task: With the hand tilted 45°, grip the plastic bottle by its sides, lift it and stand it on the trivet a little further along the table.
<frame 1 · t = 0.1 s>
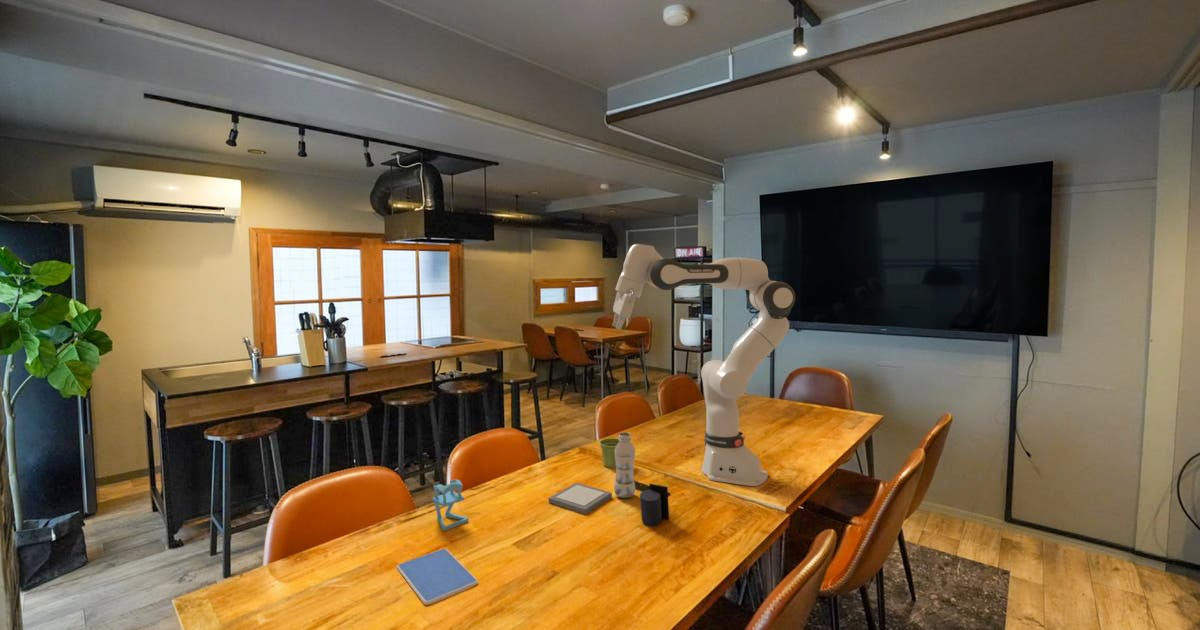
hand: (616, 327, 174), 52 cm above the table, tool tilted 20°, fingers open, 8 cm apart
trivet: (580, 499, 160), on the table
chair: (449, 522, 147), on the table
tablet computer: (436, 578, 120), on the table
plastic bottle: (624, 496, 162), on the table
speaker: (654, 523, 145), on the table
plant pot: (612, 465, 189), on the table
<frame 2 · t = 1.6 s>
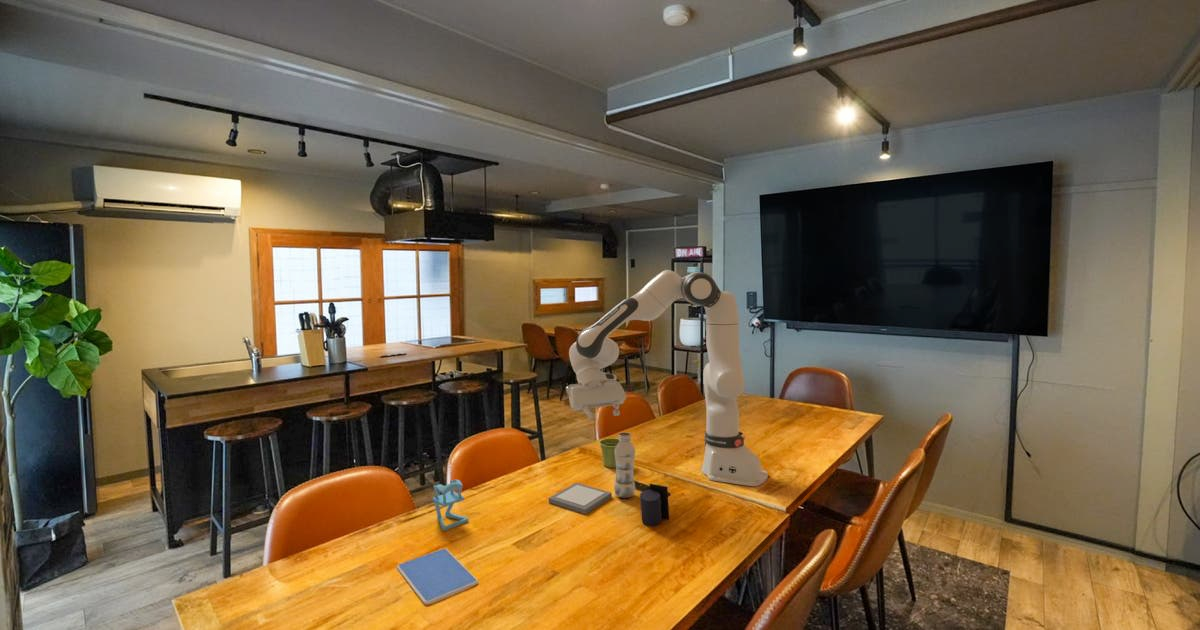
hand: (605, 416, 171), 23 cm above the table, tool tilted 45°, fingers open, 8 cm apart
nothing on the table moved.
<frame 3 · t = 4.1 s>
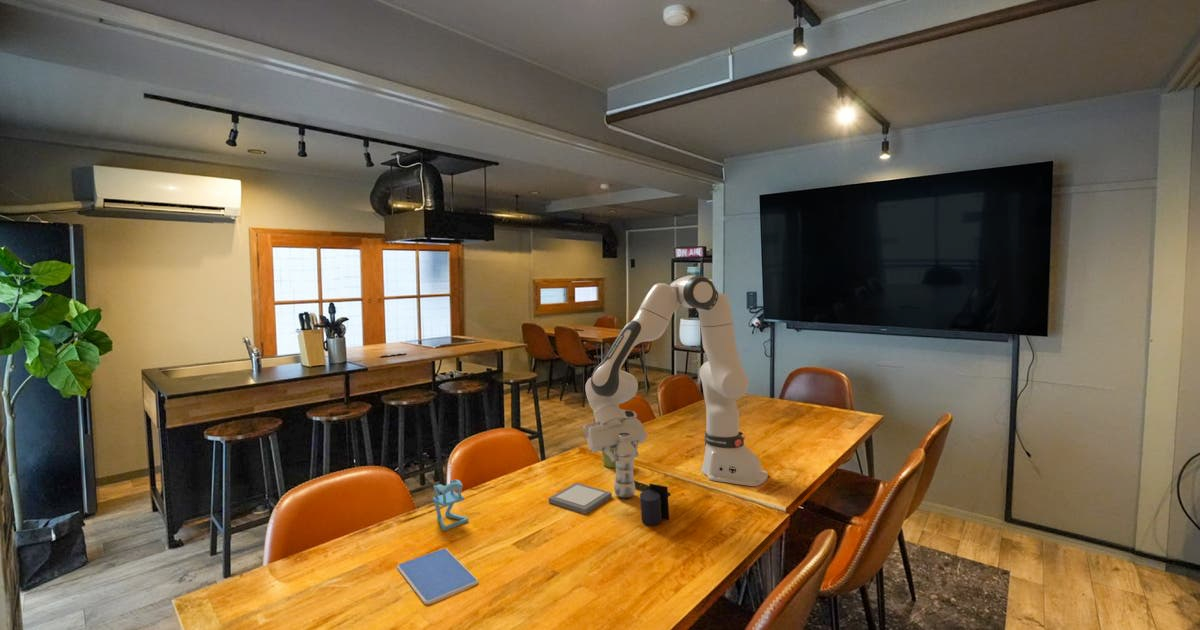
hand: (625, 458, 161), 12 cm above the table, tool tilted 45°, fingers closed on plastic bottle, 6 cm apart
plastic bottle: (624, 496, 162), on the table, touching gripper
everything else where it was.
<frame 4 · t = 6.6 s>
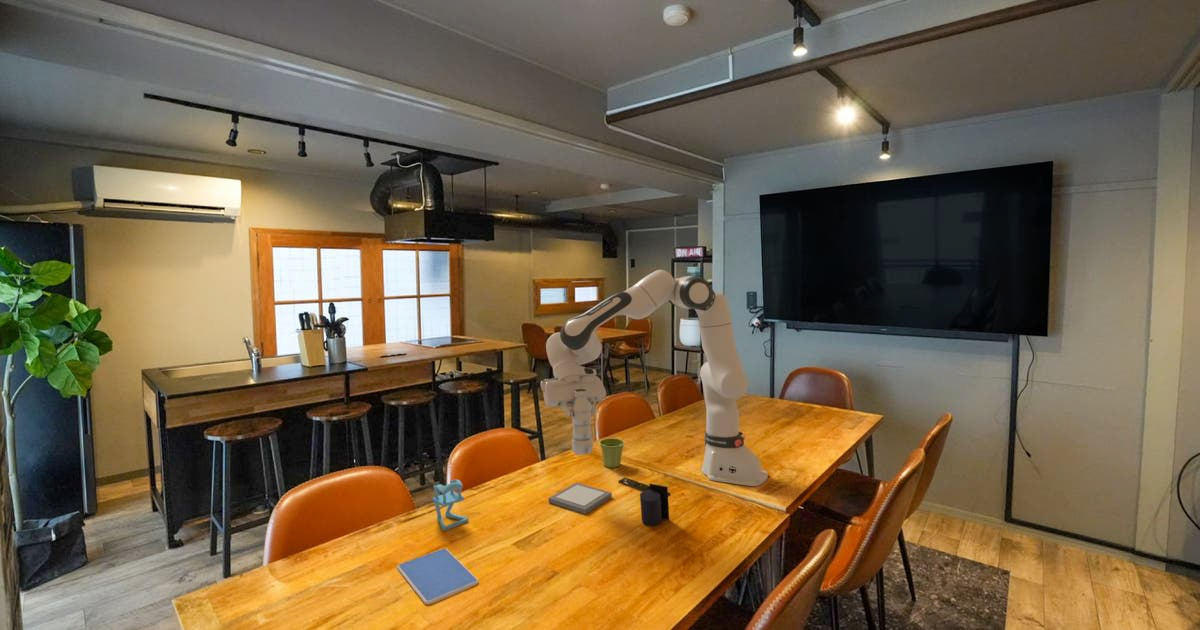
hand: (582, 414, 157), 27 cm above the table, tool tilted 45°, fingers closed on plastic bottle, 6 cm apart
plastic bottle: (582, 453, 159), point 15 cm above the table, touching gripper
everything else where it was.
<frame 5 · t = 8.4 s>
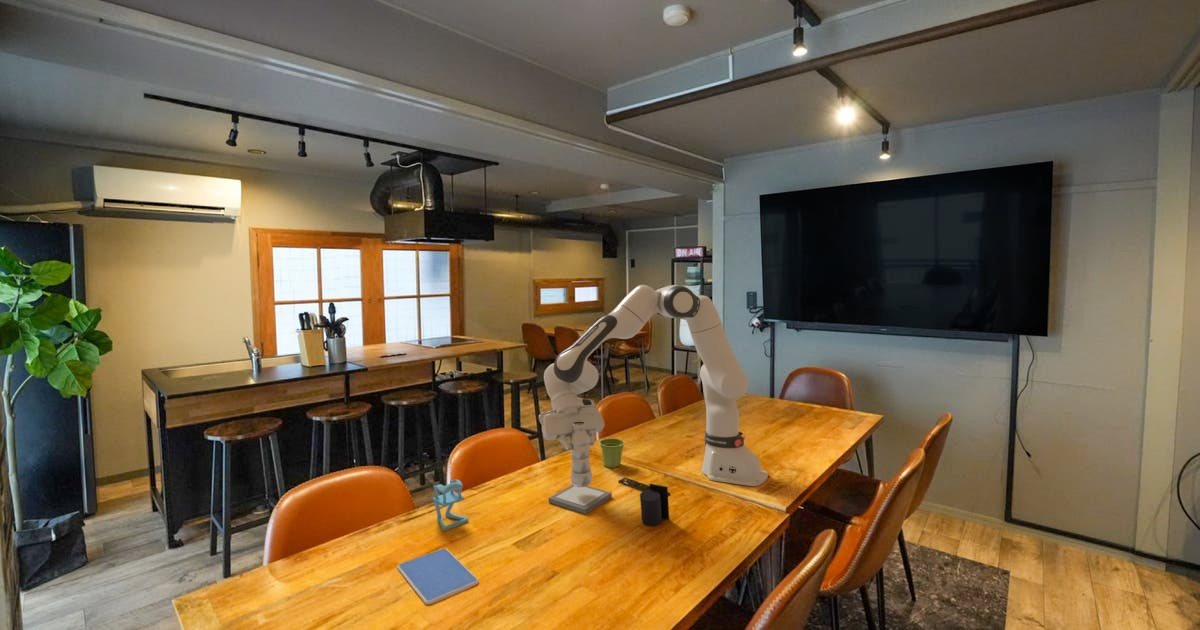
hand: (580, 447, 158), 17 cm above the table, tool tilted 45°, fingers closed on plastic bottle, 6 cm apart
plastic bottle: (581, 485, 160), point 4 cm above the table, touching gripper
everything else where it was.
when the fingers open (15 cm above the table, at t = 9.4 s): plastic bottle moves 4 cm, resting on trivet.
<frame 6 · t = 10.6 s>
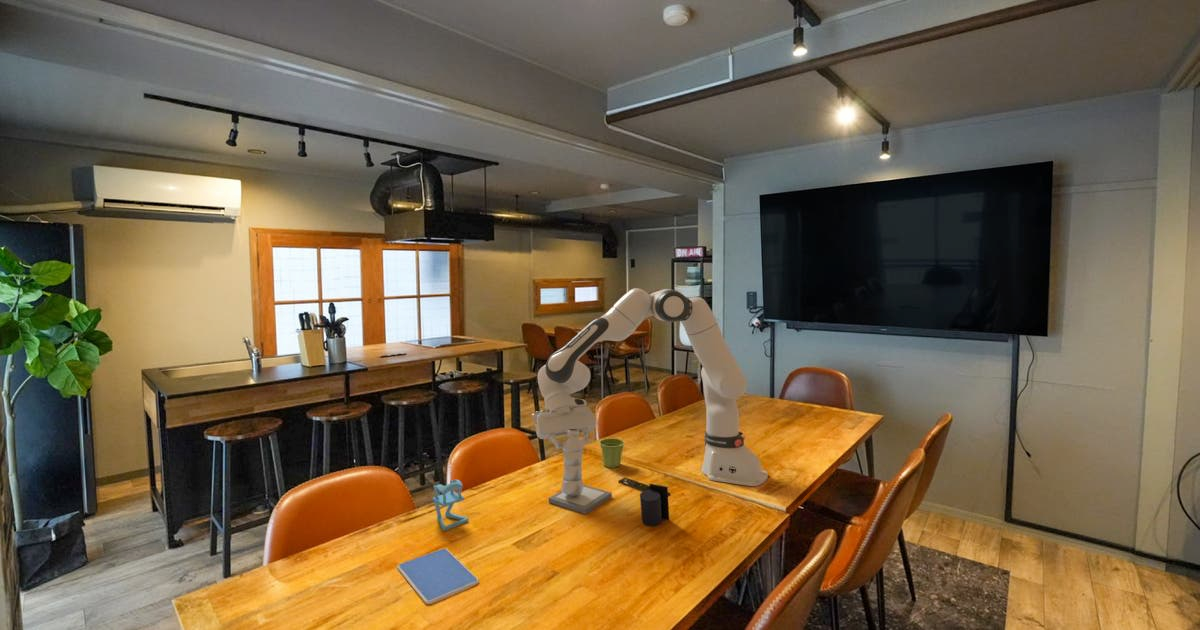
hand: (573, 445, 162), 16 cm above the table, tool tilted 45°, fingers open, 8 cm apart
plastic bottle: (572, 495, 159), point 2 cm above the table, touching trivet
everything else where it was.
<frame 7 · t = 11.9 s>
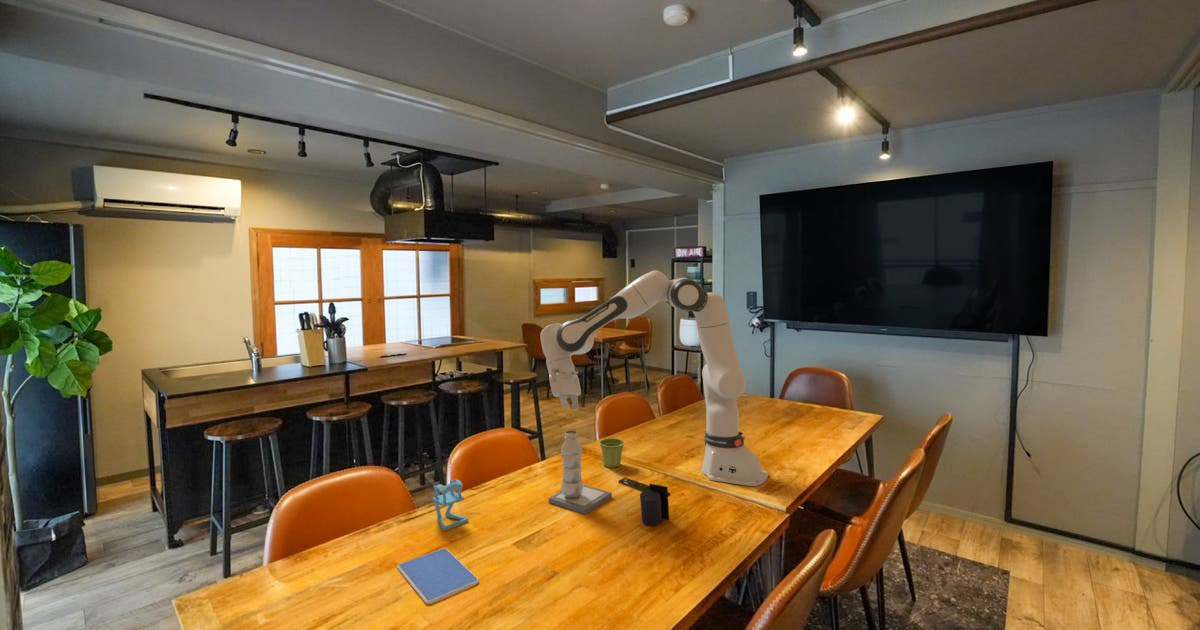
hand: (571, 409, 174), 25 cm above the table, tool tilted 25°, fingers open, 8 cm apart
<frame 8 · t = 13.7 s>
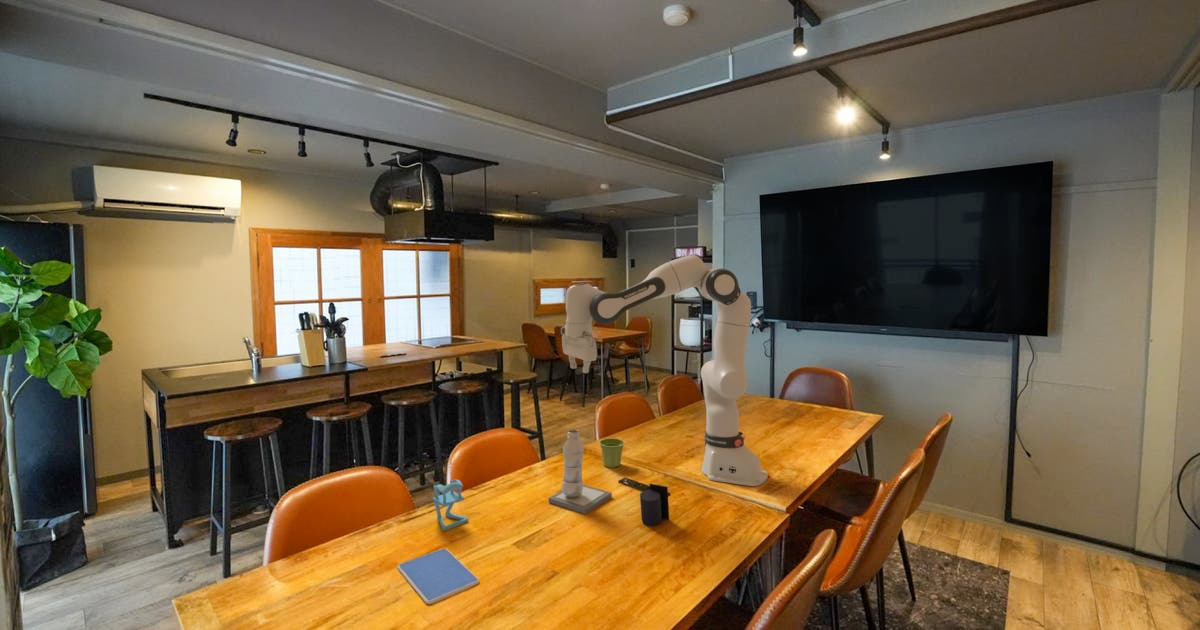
hand: (579, 370, 177), 37 cm above the table, tool pointing down, fingers open, 8 cm apart
at the end: plastic bottle 2.7 cm from the trivet (horizontally); plastic bottle tilted 8°; the gripper is holding nothing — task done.
